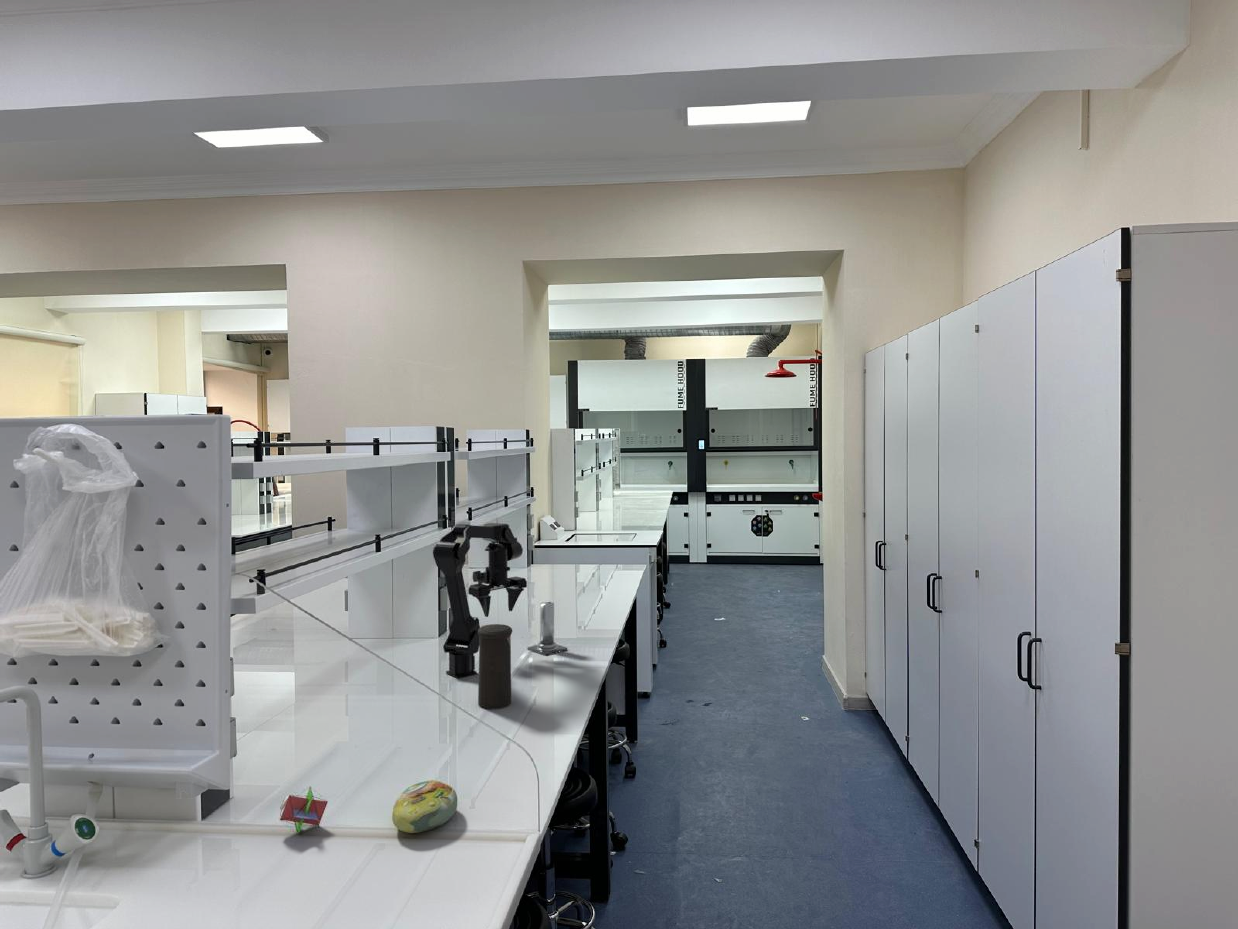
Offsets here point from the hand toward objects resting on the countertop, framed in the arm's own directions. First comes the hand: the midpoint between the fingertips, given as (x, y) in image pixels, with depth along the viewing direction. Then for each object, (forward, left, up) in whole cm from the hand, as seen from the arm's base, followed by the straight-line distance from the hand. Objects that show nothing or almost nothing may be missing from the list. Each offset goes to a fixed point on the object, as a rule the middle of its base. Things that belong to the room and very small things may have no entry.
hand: (498, 614), depth 240 cm
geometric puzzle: (-85, -65, -13) cm, 108 cm away
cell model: (-68, -76, -14) cm, 103 cm away
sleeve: (+15, -5, -12) cm, 20 cm away
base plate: (+15, -5, -13) cm, 21 cm away
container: (-25, -35, -13) cm, 45 cm away
